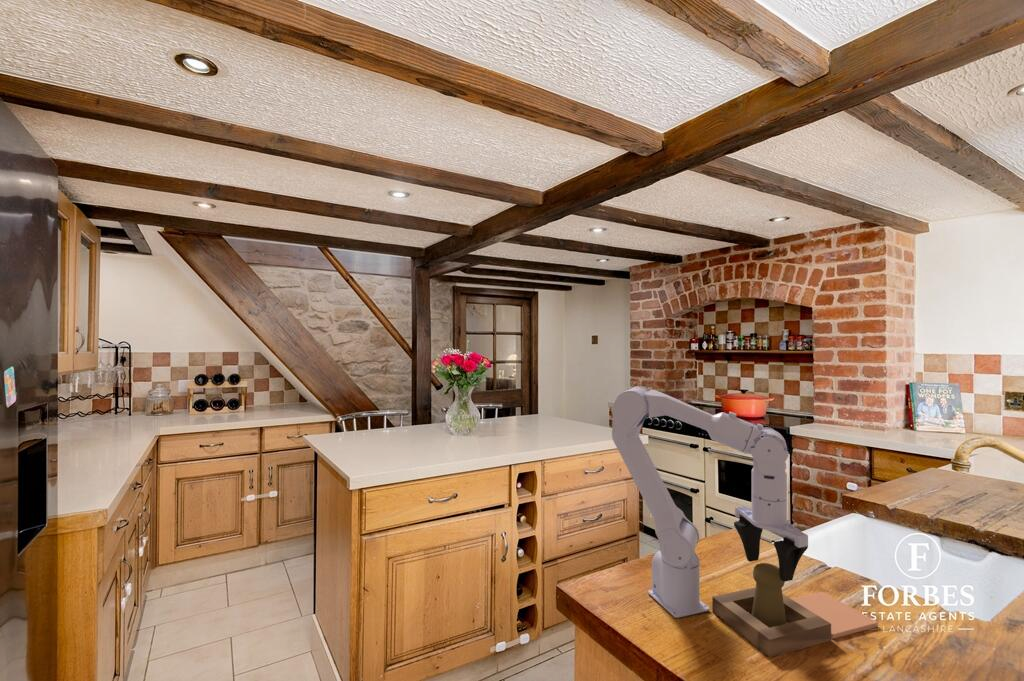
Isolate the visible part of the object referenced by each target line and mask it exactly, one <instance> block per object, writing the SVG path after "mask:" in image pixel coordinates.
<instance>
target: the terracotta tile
mask: <svg viewBox="0 0 1024 681" xmlns="http://www.w3.org/2000/svg"><path fill="white" fill-rule="evenodd" d="M790 599H792V600H793V601H795V602H797V603H798V604H800V605H802V606H803V607H805V608H806V609H808V610H810V611H811V612H813V613H815V614H816V615H818V616H819V617H821V618H823V619H824V620H826V621H828V622H829V623H831V640H832V639H833V640H834V639H838V638H842V637H845V636H849V635H851V634H855V633H860V632H863V631H864V632H865V631H867V630H871V629H874V628H878V627H879V626H878V625H879V623H878V621H877V620H875V619H872V618H871V617H869V616H867V615H865V614H863V613H862V612H860V611H858V610H857V609H855V608H853V607H851V606H850V605H848V604H845V603H844V602H842V601H840V600H839V599H837V598H835V597H834V596H831V595H830V594H828V593H826V592H824V591H818V592H814V593H809V594H805V595H802V596H796V597H792V598H791V597H790Z"/></svg>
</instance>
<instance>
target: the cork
mask: <svg viewBox="0 0 1024 681" xmlns="http://www.w3.org/2000/svg"><path fill="white" fill-rule="evenodd" d="M752 577H753V580H754V581H755V583H756V584H755V587H756V588H755V587H754V588H755V595H754V602H753V608H752V612H751V615H752V616H754V617H755V618H756V619H758V620H759V621H761V622H762V623H763V624H765V625H766V626H768V627H769V628H771V627H775V626H779V625H783V624H787V623H788V622H787V621H786V615H785V608H784V601H783V594H784V593H783V589H782V588H783V587H784V586H785V583H786V581H785V582H784V581H782V580H781V579H780V574H779V566H777V565H775V564H771V563H767V562H760V563H756V565H755V566H754V567H753V571H752Z"/></svg>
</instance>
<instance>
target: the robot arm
mask: <svg viewBox="0 0 1024 681" xmlns="http://www.w3.org/2000/svg"><path fill="white" fill-rule="evenodd" d="M610 410H611V415H612V421H611V422H612V426H611V427H612V428H611V438H612V441H613V443H614V445H615V447H616V448H617V451H618V453H619V455H620V456H621V459H622V460H623V462H624V464H625V466H626V467H627V470H628V472H629V473H630V474H629V475H630V476H631V478H632V479H633V481H634V484H635V485H636V488H637V490H638V492H639V493H640V495H641V497H642V499H643V501H644V502H645V505H646V506H647V509H648V510H649V512H650V515H651V516H652V518H653V523H654V531H655V536H656V537H657V538H658V541H659V550H658V551H657V552H656V553H655V554H654V556H653V557H652V560H651V589H648V590H647V593H648V595H650V596H651V597H652V598H653V600H655V601H656V602H657V603H658V604H660V605H661V606H662V607H663V608H664V609H665V610H666V611H667V612H668V613H669V614H670V615H672V616H673V618H677V619H678V618H682V617H683V618H684V617H688V616H691V615H696V614H700V613H704V612H709V611H710V610H711V608H710V607H709V606H708V605H707V604H705V603H704V602H703V601H702V600H701V599H700V597H701V596H700V595H701V594H700V592H701V591H700V558H699V556H698V554H697V553H696V548H697V545H698V543H699V540H700V533H699V530H698V528H697V526H696V525H695V524H694V523H693V522H691V521H690V520H689V519H688V518H687V516H686V515H685V513H684V511H683V510H682V509H681V508H679V507H678V506H677V505H676V503H675V502H674V499H673V498H672V496H671V494H670V492H669V490H668V488H667V487H666V484H665V483H664V481H663V479H662V477H661V476H660V474H659V472H658V469H657V468H656V465H655V464H654V462H653V460H652V458H651V456H650V455H649V452H648V451H647V449H646V447H645V445H644V443H643V440H642V439H641V438H640V432H641V429H642V427H643V425H644V422H645V420H646V419H647V417H648V418H649V419H651V418H657V417H663V416H667V417H670V418H673V419H675V420H678V421H681V422H683V423H686V424H689V425H691V426H694V427H696V428H700V429H701V430H704V431H706V432H707V433H708V436H709V437H710V440H712V441H714V442H717V443H719V444H721V445H724V446H726V447H729V448H731V449H733V450H735V451H737V452H740V453H742V454H746V455H751V457H752V462H753V463H752V464H753V465H752V466H753V467H752V469H751V508H749V507H747V506H744V505H740V506H735V507H734V513H735V514H734V517H735V518H737V519H738V521H737V520H736V521H734V522H733V526H734V528H735V530H736V532H737V533H738V535H739V538H740V540H741V543H742V546H743V549H744V554H745V556H746V559H747V561H748V562H756V561H759V558H760V549H761V546H760V545H761V539H762V538H761V537H762V533H763V530H765V531H768V532H770V533H772V534H775V535H776V536H778V537H780V538H782V539H781V540H777V541H773V546H774V549H775V551H776V554H777V559H778V567H779V574H780V579H781V580H782V581H784V582H785V583H786V582H790V581H793V580H794V575H795V572H796V568H797V566H798V564H799V561H800V559H801V558H802V556H803V555H804V553H805V552H806V551H807V550H808V548H809V535H808V534H806V533H804V532H803V531H802V530H799V528H797V527H796V526H795V525H793V524H792V523H790V519H789V518H788V516H787V515H788V508H787V507H788V504H787V503H788V502H787V501H788V500H787V499H788V498H787V497H788V491H787V490H788V486H787V485H788V483H787V481H788V480H787V479H788V475H787V474H788V473H787V472H786V470H787V463H786V461H787V460H788V458H789V454H790V452H789V451H788V446H787V443H786V439H785V438H784V436H783V435H782V434H781V433H780V432H779V431H777V430H775V429H774V428H772V427H764V425H763V424H760V423H757V424H754V423H751V422H749V421H746V420H745V419H741V418H739V417H737V413H735V412H732V411H729V413H726V412H725V411H724V412H723V411H722V412H718V413H716V414H711V413H709V412H706V411H704V410H702V409H700V408H698V407H695V406H693V405H692V404H688V402H687V403H686V402H685V401H682V400H680V399H677V398H675V397H673V396H671V395H669V394H666V393H663V392H661V391H660V390H659V391H658V390H655V389H651V390H650V389H649V388H647V387H646V386H643V385H636V386H633V387H631V388H630V389H629V390H625V391H622V392H620V394H618V395H617V396H616V399H615V400H614V402H613V405H612V407H611V409H610Z"/></svg>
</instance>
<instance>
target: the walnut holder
mask: <svg viewBox="0 0 1024 681" xmlns="http://www.w3.org/2000/svg"><path fill="white" fill-rule="evenodd" d="M755 588H756V586H755V587H753V588H752V587H751V588H747V589H746V588H745V589H743V590H737V591H732V592H728V593H723V594H719V595H714V596H712V598H711V599H712V600H711V601H712V602H711V603H712V613H713V614H714V615H716V616H717V617H718V616H719V617H720V618H719V617H718V618H719V619H721V620H722V619H723V620H724V621H725V622H724V621H723V620H722V621H723V622H724V623H725V624H727V625H728V626H729V625H730V626H729V627H731V628H732V629H733V630H734V631H736V632H737V631H738V632H739V633H738V632H737V633H738V634H740V635H741V636H742V637H743V636H744V637H743V638H745V639H746V640H747V641H748V642H750V643H751V644H753V645H754V646H755V647H756V648H757V649H758V650H759V651H761V652H762V653H763V654H765V655H766V656H767V657H769V658H773V657H776V656H780V655H784V654H788V653H790V652H795V651H798V650H802V649H805V648H810V647H813V646H816V645H821V644H824V643H828V642H832V638H831V623H829V622H828V621H826V620H824V619H823V618H821V617H819V616H818V615H816V614H815V613H813V612H811V611H810V610H808V609H806V608H805V607H803V606H802V605H800V604H798V603H797V602H795V601H793V600H792V599H791V597H789V596H788V595H786V594H784V593H782V594H783V601H784V608H785V615H786V622H787V621H788V622H787V624H783V625H779V626H775V627H771V628H769V627H768V626H766V625H765V624H763V623H762V622H761V621H759V620H758V619H756V618H755V617H754V616H752V608H753V602H754V595H755ZM748 612H751V613H748Z"/></svg>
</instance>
